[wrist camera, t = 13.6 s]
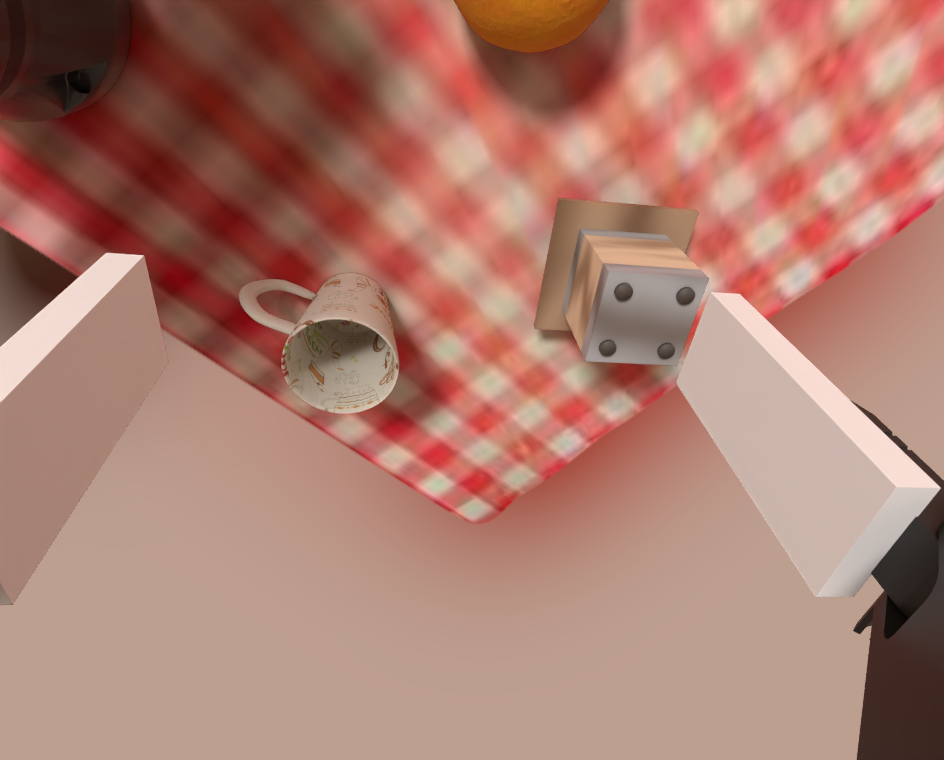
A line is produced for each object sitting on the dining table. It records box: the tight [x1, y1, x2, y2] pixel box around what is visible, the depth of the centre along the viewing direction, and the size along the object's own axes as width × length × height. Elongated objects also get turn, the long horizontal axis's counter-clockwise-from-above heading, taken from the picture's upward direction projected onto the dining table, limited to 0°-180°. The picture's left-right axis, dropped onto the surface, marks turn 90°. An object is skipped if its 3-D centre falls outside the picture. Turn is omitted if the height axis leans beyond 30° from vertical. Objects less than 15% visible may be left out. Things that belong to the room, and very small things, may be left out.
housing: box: [562, 228, 709, 366], centre depth 43 cm, size 7×7×8 cm
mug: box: [239, 273, 399, 413], centre depth 44 cm, size 8×13×10 cm, turn 63°
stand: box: [534, 198, 699, 331], centre depth 48 cm, size 11×11×3 cm
